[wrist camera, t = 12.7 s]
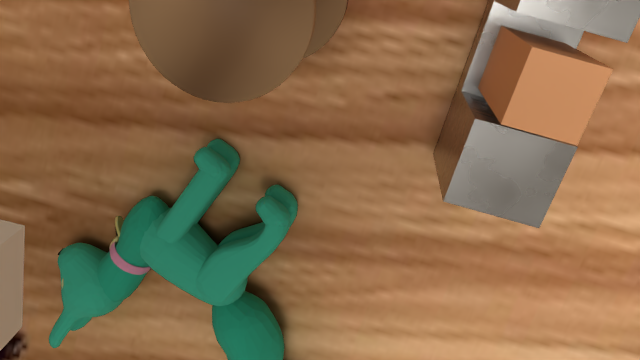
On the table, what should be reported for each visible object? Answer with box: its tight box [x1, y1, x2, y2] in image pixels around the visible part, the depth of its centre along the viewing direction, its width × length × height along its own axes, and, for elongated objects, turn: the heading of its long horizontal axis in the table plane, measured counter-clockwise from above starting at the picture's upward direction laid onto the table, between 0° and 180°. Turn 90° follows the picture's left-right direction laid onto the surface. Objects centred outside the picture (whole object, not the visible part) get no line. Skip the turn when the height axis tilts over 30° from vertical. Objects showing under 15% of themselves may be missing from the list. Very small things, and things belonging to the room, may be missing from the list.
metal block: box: [433, 0, 640, 228], centre depth 28 cm, size 5×14×7 cm, turn 166°
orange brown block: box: [478, 26, 613, 145], centre depth 27 cm, size 4×4×7 cm
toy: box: [49, 139, 298, 360], centre depth 38 cm, size 7×22×20 cm
